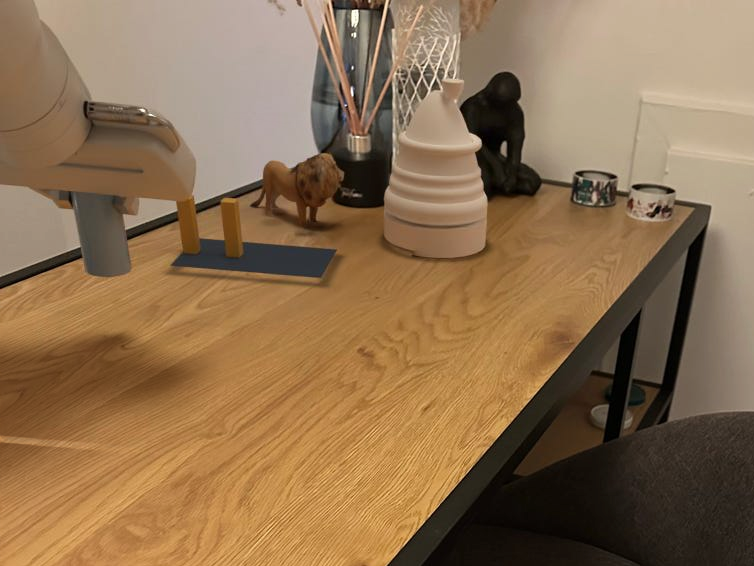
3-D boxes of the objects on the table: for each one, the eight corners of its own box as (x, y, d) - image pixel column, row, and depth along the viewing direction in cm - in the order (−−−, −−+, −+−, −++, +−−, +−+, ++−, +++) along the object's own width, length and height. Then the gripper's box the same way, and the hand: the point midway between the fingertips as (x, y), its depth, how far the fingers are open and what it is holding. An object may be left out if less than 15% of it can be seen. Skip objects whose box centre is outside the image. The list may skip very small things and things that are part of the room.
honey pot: (505, 242, 120) (517, 81, 108) (442, 265, 112) (448, 93, 100) (427, 219, 125) (431, 63, 114) (362, 239, 117) (359, 74, 106)
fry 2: (226, 256, 108) (220, 201, 104) (229, 252, 109) (223, 197, 105) (240, 258, 108) (234, 202, 104) (243, 253, 109) (238, 198, 105)
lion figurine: (352, 229, 120) (349, 152, 114) (326, 239, 116) (322, 160, 111) (263, 206, 125) (257, 132, 120) (236, 215, 122) (228, 138, 116)
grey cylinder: (78, 274, 84) (53, 152, 77) (95, 260, 87) (73, 141, 80) (122, 279, 84) (101, 156, 77) (138, 264, 87) (119, 145, 80)
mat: (170, 270, 105) (169, 265, 105) (196, 242, 113) (196, 237, 112) (321, 283, 105) (321, 277, 104) (337, 254, 112) (337, 249, 112)
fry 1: (183, 253, 108) (175, 197, 104) (187, 249, 109) (179, 193, 105) (196, 254, 108) (189, 198, 104) (200, 250, 109) (193, 195, 105)
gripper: (171, 72, 69) (221, 181, 82) (-106, 46, 69) (-9, 159, 83) (160, 153, 68) (213, 249, 82) (-119, 127, 68) (-19, 227, 82)
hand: (99, 204), depth 82 cm, fingers closed on grey cylinder, 4 cm apart
